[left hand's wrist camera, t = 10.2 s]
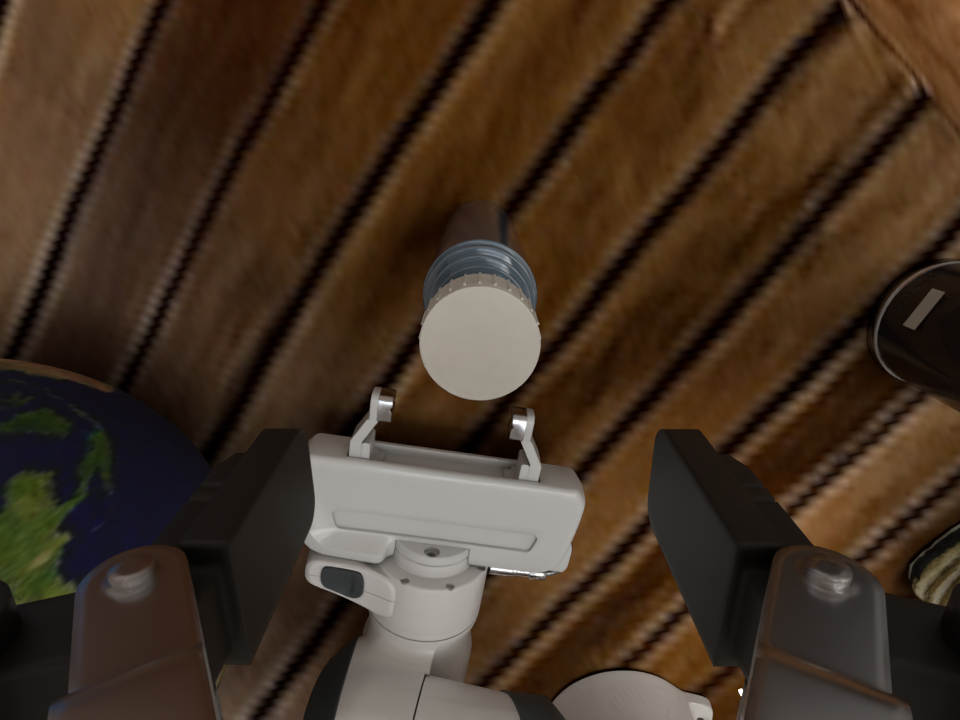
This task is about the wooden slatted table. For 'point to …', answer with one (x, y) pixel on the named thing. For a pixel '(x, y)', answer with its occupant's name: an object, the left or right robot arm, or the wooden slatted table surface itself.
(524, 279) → the bottle
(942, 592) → the fossil
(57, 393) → the globe
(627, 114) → the wooden slatted table surface
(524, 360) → the cap
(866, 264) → the wooden slatted table surface
